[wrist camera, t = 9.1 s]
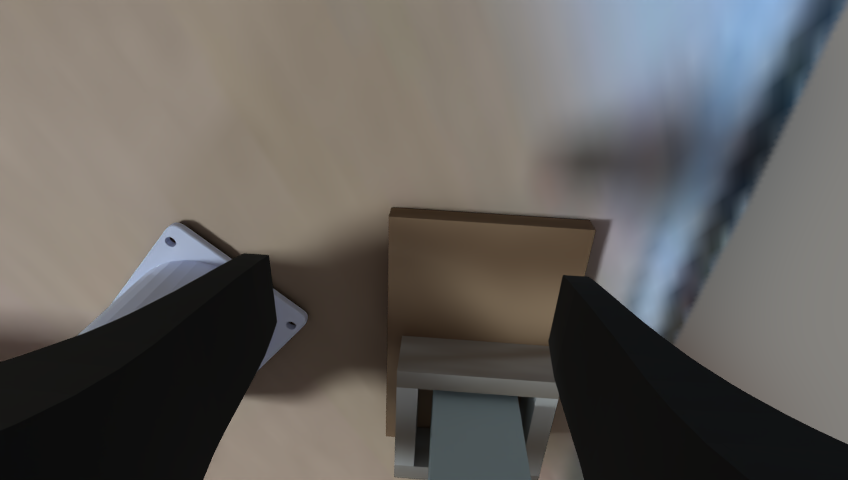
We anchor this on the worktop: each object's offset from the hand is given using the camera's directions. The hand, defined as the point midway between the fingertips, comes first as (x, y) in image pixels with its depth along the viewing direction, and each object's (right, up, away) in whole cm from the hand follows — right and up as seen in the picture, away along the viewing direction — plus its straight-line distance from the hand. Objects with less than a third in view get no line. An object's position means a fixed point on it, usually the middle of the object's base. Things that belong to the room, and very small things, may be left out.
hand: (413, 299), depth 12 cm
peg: (+3, -7, +13) cm, 15 cm away
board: (+3, -4, +13) cm, 14 cm away
